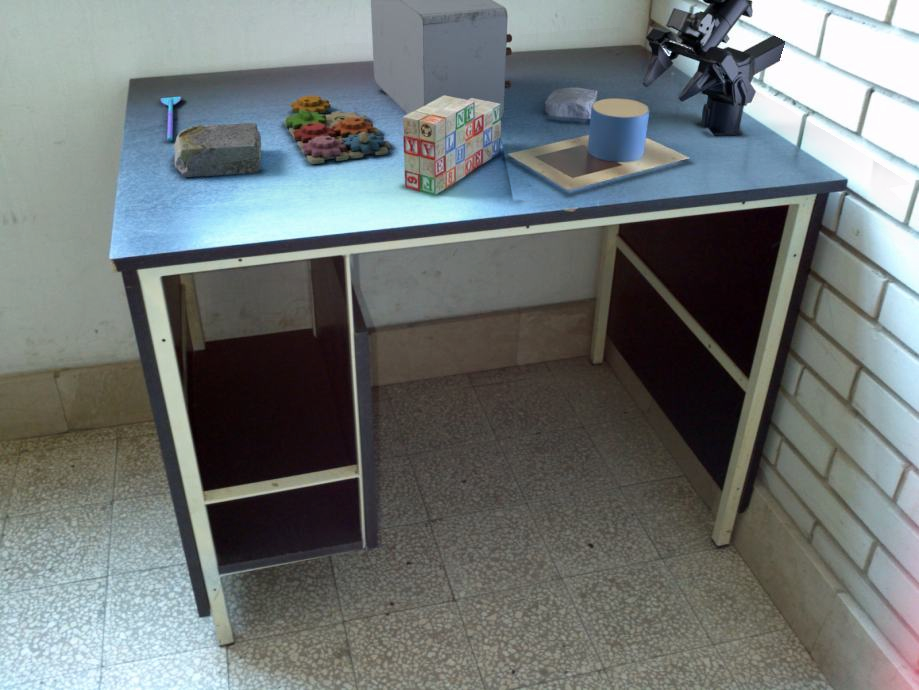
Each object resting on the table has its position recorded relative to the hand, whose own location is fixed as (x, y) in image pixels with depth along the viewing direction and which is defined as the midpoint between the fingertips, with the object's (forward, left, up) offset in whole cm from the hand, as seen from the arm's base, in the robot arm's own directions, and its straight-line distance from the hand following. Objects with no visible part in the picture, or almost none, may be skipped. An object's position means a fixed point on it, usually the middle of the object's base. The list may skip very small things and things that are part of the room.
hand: (662, 92), depth 158 cm
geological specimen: (+78, +7, -10) cm, 79 cm away
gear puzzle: (+60, -9, -10) cm, 62 cm away
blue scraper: (+92, -15, -10) cm, 94 cm away
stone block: (+13, -19, -10) cm, 25 cm away
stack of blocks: (+37, +10, -10) cm, 40 cm away
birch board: (+12, +7, -10) cm, 17 cm away
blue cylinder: (+8, +5, -9) cm, 13 cm away
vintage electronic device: (+39, -23, -10) cm, 46 cm away
